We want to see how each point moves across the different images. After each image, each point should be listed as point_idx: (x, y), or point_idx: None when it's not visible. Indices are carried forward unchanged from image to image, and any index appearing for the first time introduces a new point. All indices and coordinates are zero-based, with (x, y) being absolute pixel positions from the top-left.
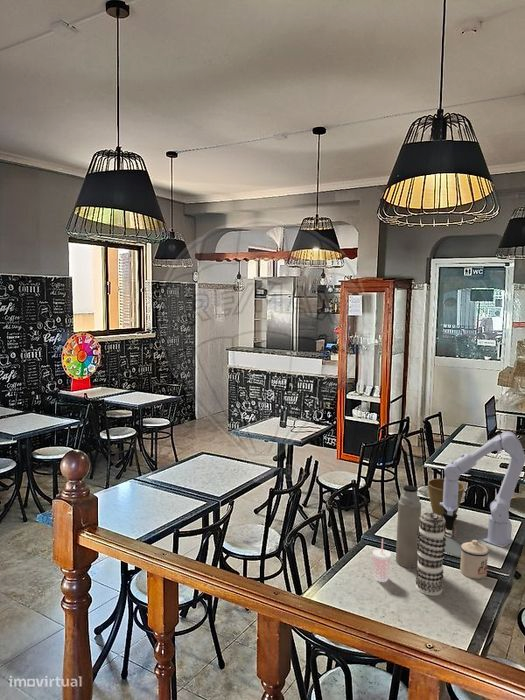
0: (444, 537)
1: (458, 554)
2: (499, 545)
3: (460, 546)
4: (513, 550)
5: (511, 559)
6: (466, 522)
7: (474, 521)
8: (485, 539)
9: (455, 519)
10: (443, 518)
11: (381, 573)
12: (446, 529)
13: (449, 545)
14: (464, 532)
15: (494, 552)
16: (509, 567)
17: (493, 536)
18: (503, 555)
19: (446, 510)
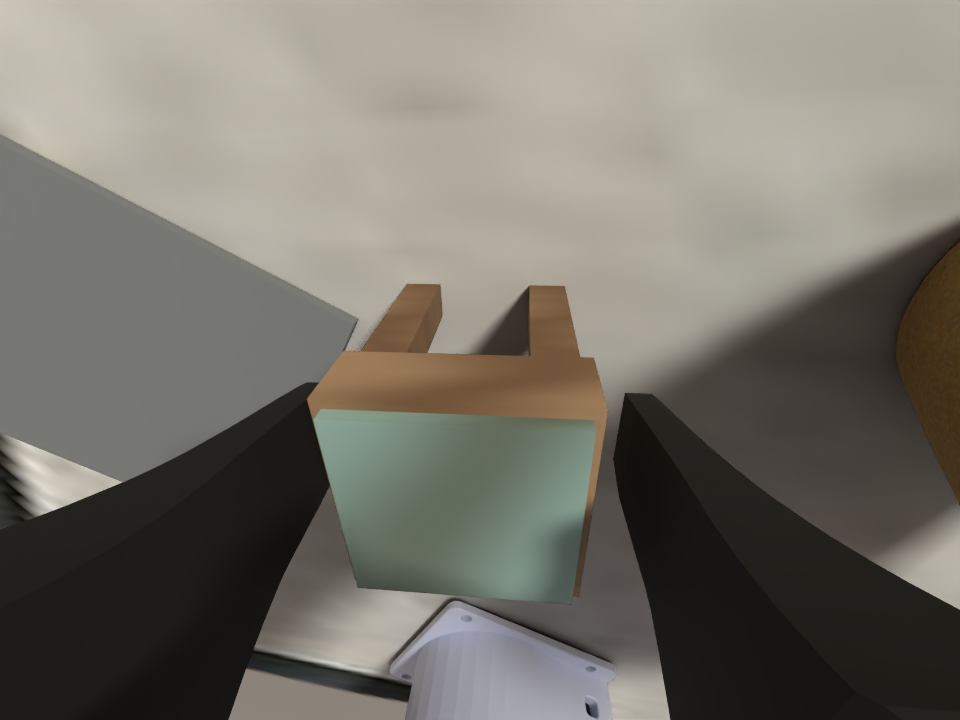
0: (324, 309)
1: (10, 422)
2: (395, 664)
3: None
4: (388, 692)
5: (249, 666)
6: (911, 539)
7: (938, 598)
8: (471, 616)
9: (514, 587)
10: (422, 425)
11: None
12: (305, 384)
13: (138, 357)
14: (603, 499)
15: (288, 619)
16: None
17: (412, 705)
18: (277, 647)
19: (722, 605)
